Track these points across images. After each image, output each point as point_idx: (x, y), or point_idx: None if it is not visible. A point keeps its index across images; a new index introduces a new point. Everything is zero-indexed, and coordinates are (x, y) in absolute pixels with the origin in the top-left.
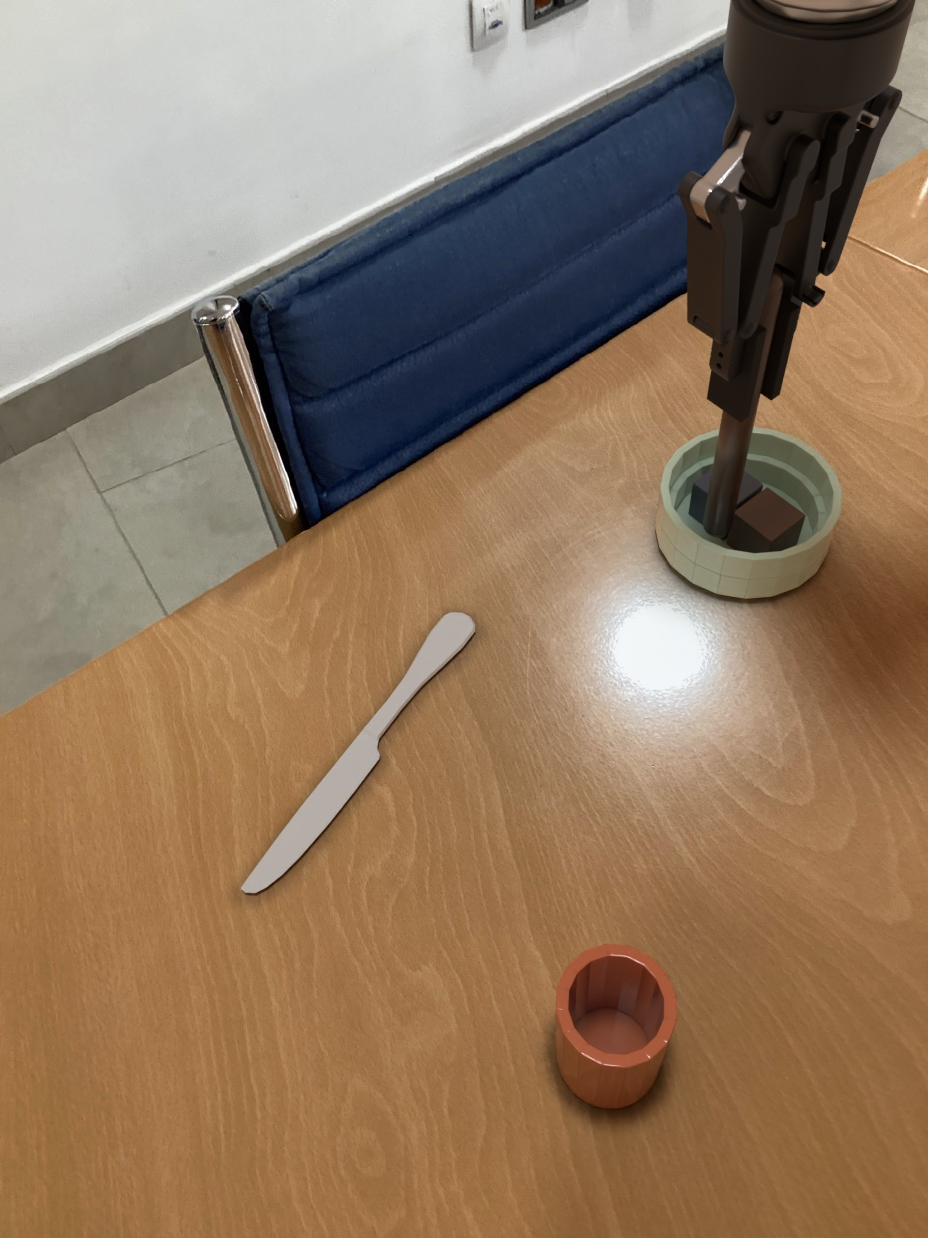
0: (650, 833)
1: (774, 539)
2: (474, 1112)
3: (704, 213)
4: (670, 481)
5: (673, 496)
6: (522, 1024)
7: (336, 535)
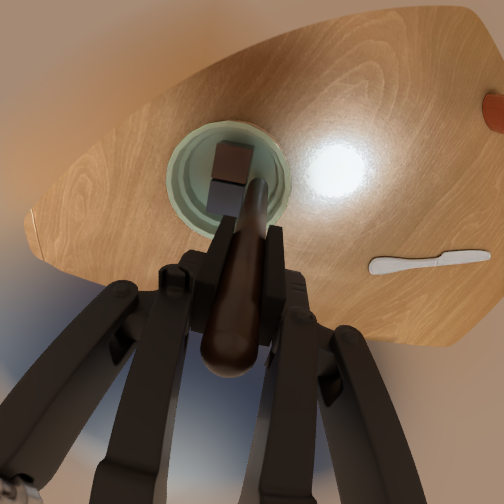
0: (429, 127)
1: (249, 149)
2: None
3: None
4: None
5: None
6: (498, 145)
7: None
